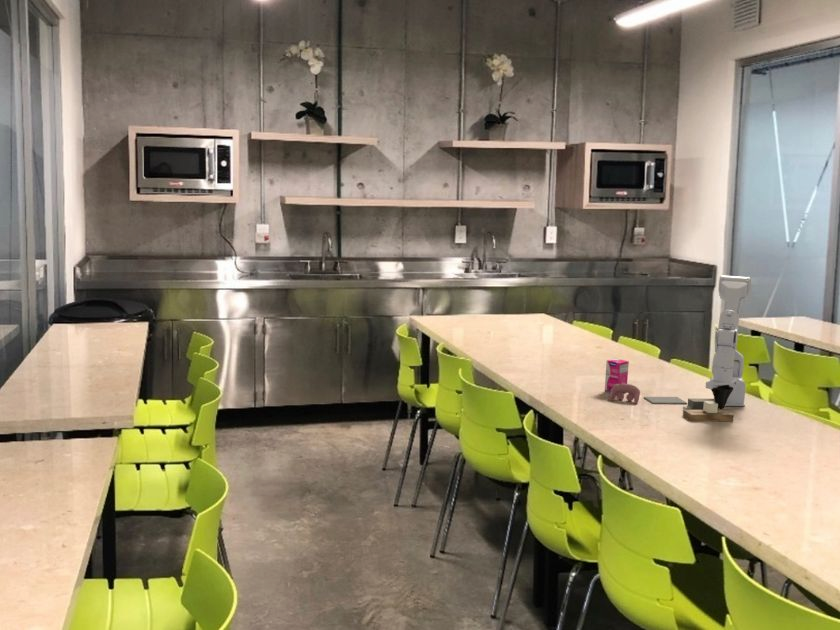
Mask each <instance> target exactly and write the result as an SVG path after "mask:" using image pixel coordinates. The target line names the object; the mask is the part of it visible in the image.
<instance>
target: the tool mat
mask: <svg viewBox="0 0 840 630" xmlns="http://www.w3.org/2000/svg"><path fill="white" fill-rule="evenodd" d="M643 399H645V400H646V401H647V402H649V403H650V404H652V405H688V401H687V402H686V401H685V400H683V399H681V398H680V397H679V396H643Z"/></svg>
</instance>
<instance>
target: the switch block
mask: <svg viewBox="0 0 840 630" xmlns="http://www.w3.org/2000/svg"><path fill="white" fill-rule="evenodd" d="M682 416H683V417H684V418H685V419H687V420H689V421H692V422H709V421H710V422H734V414H733V413H732V412H729V411H728V410H726V409H719V410H717V413H707V412H705V411H704V410H683V409H682Z"/></svg>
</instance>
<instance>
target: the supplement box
mask: <svg viewBox="0 0 840 630" xmlns="http://www.w3.org/2000/svg"><path fill="white" fill-rule="evenodd" d="M629 363H630V362H629V361H628V360H624V359H619V358H612V359H608V360H606V365H605V380H604V381H605V382H604V392H607V393H610V392H611V390H612V387H613V386H615V385H616V384H622V383H624V384H628V376H629ZM625 393H626V392H623V394H625Z"/></svg>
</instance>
